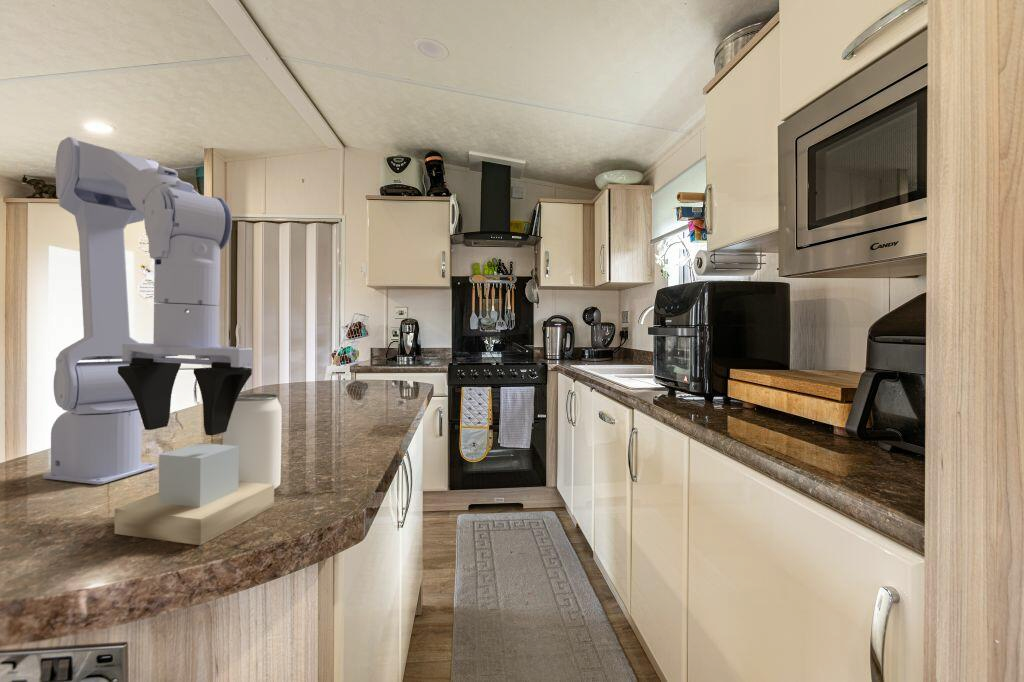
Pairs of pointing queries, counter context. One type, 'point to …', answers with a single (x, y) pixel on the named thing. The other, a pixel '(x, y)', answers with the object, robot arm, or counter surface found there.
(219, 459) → the block
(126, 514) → the base
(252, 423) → the can
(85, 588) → the counter surface
